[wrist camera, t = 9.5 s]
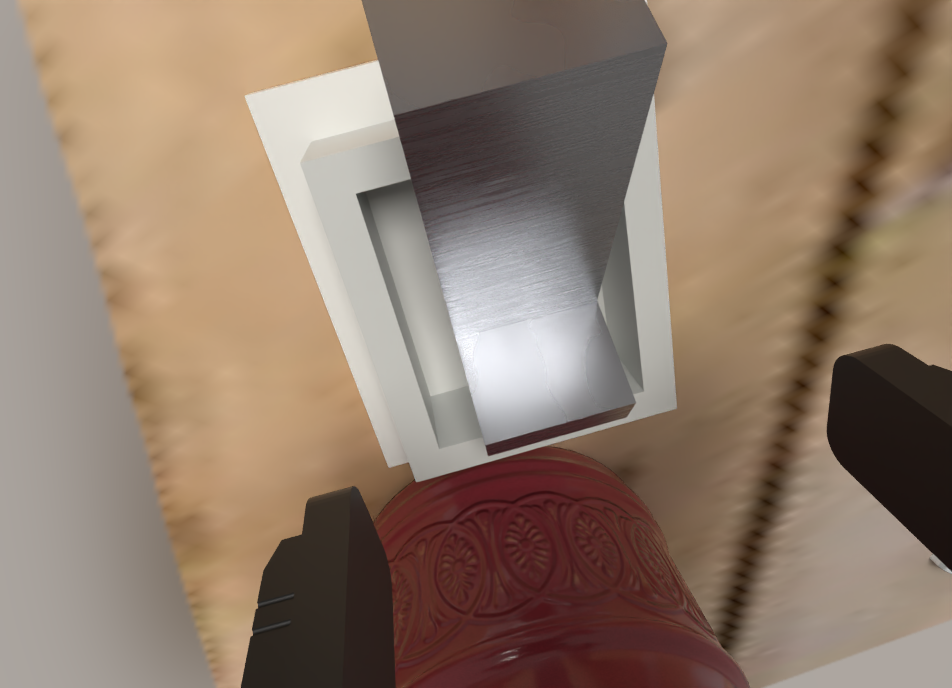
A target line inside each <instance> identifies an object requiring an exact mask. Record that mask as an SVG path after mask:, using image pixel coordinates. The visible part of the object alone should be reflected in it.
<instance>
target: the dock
mask: <svg viewBox="0 0 952 688" xmlns="http://www.w3.org/2000/svg"><path fill="white" fill-rule="evenodd" d="M645 2H646V4H647V0H645ZM245 99H246V101H247V104H248V106H249V109H250V112H251V114H252V117H253V119H254V122H255V124H256V127H257V130H258V132H259V135H260V137H261V140H262V142H263V145H264V148H265V150H266V153H267V155H268V158H269V161H270V163H271V166H272V168H273V171H274V173H275V176H276V179H277V181H278V184H279V186H280V189H281V191H282V194H283V197H284V199H285V202H286V204H287V207H288V209H289V212H290V215H291V217H292V220H293V222H294V225H295V228H296V230H297V233H298V235H299V238H300V240H301V243H302V246H303V248H304V251H305V253H306V256H307V258H308V261H309V264H310V266H311V269H312V271H313V274H314V276H315V279H316V282H317V284H318V287H319V289H320V292H321V295H322V297H323V300H324V302H325V305H326V307H327V310H328V313H329V315H330V318H331V320H332V323H333V325H334V328H335V331H336V333H337V336H338V338H339V341H340V343H341V346H342V349H343V351H344V354H345V356H346V359H347V362H348V364H349V367H350V369H351V372H352V374H353V377H354V380H355V382H356V385H357V387H358V390H359V392H360V395H361V398H362V400H363V403H364V405H365V408H366V410H367V413H368V416H369V418H370V421H371V423H372V426H373V429H374V431H375V434H376V436H377V439H378V441H379V444H380V447H381V449H382V452H383V454H384V457H385V459H386V462H387V465H388V467H389V468H390V467H394V466H397V465H401V464H404V463H408V462H409V464H410V467H411V469H412V472H413V475H414V478H415V480H416V482H420V481H423V480H427V479H430V478H434V477H438V476H441V475H445V474H448V473H452V472H455V471H459V470H462V469H466V468H469V467H473V466H476V465H480V464H483V463H487V462H490V461H494V460H498V459H501V458H505V457H508V456H512V455H515V454H519V453H522V452H526V451H529V450H533V449H536V448H540V447H543V446H547V445H550V444H554V443H558V442H561V441H565V440H568V439H572V438H575V437H579V436H582V435H586V434H589V433H593V432H596V431H600V430H603V429H607V428H611V427H614V426H618V425H621V424H625V423H628V422H632V421H635V420H639V419H642V418H646V417H649V416H653V415H656V414H660V413H663V412H667V411H671V410H674V409H677V401H676V387H675V374H674V360H673V347H672V333H671V319H670V306H669V292H668V279H667V265H666V251H665V238H664V224H663V211H662V197H661V183H660V170H659V156H658V143H657V129H656V115H655V102H654V94H653V98H652V101H651V105H650V109H649V112H648V116H647V120H646V123H645V127H644V131H643V134H642V138H641V142H640V145H639V149H638V153H637V156H636V160H635V164H634V167H633V171H632V175H631V178H630V182H629V186H628V189H627V193H626V197H625V200H624V204H623V208H622V211H621V215H620V219H619V222H618V226H617V230H616V233H615V237H614V241H613V244H612V248H611V252H610V255H609V259H608V263H607V266H606V270H605V274H604V277H603V281H602V285H601V289H600V292H599V296H598V300H597V301H598V304H599V307H600V309H601V312H602V314H603V317H604V320H605V322H606V325H607V327H608V330H609V333H610V335H611V338H612V340H613V343H614V346H615V348H616V351H617V354H618V356H619V359H620V361H621V364H622V367H623V369H624V372H625V374H626V377H627V380H628V382H629V385H630V387H631V390H632V393H633V395H634V398H635V401H636V404H635V406H634V407H633V409H632V410H631V412H630V413H629V415H628V416H627V417H626V418H623V419H619V420H616V421H612V422H609V423H605V424H601V425H598V426H594V427H591V428H587V429H584V430H580V431H577V432H573V433H570V434H566V435H563V436H559V437H555V438H552V439H548V440H545V441H541V442H538V443H534V444H531V445H527V446H524V447H520V448H516V449H513V450H509V451H506V452H502V453H499V454H495V455H492V456H488V454H487V451H486V447H485V443H484V440H483V436H482V432H481V429H480V425H479V422H478V418H477V414H476V411H475V407H474V404H473V400H472V396H471V393H470V389H469V385H468V382H467V378H466V375H465V371H464V367H463V364H462V360H461V356H460V353H459V349H458V346H457V342H456V338H455V335H454V331H453V328H452V324H451V320H450V317H449V313H448V310H447V306H446V302H445V299H444V295H443V292H442V288H441V284H440V281H439V277H438V274H437V270H436V266H435V263H434V259H433V256H432V252H431V248H430V245H429V241H428V238H427V234H426V231H425V227H424V223H423V220H422V216H421V213H420V209H419V205H418V202H417V198H416V195H415V191H414V187H413V184H412V180H411V177H410V173H409V169H408V166H407V162H406V159H405V155H404V151H403V148H402V144H401V141H400V137H399V133H398V130H397V126H396V123H395V119H394V115H393V112H392V108H391V105H390V101H389V97H388V94H387V90H386V86H385V83H384V79H383V76H382V72H381V68H380V65H379V61H378V60H374V61H371V62H367V63H363V64H359V65H355V66H352V67H348V68H344V69H340V70H336V71H332V72H329V73H325V74H321V75H317V76H313V77H309V78H306V79H302V80H298V81H294V82H290V83H286V84H283V85H279V86H275V87H271V88H267V89H264V90H260V91H256V92H252V93H249V94H247V95H245Z"/></svg>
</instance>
